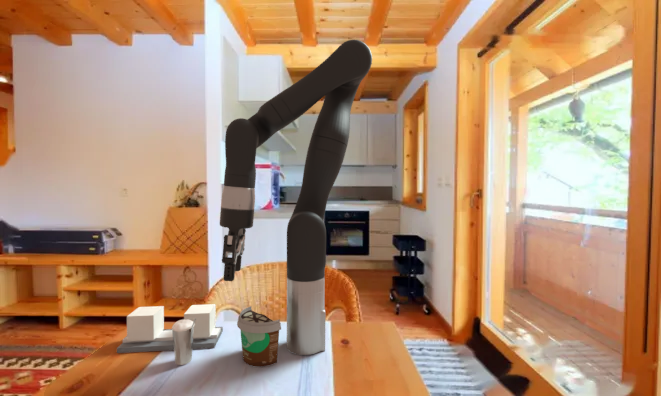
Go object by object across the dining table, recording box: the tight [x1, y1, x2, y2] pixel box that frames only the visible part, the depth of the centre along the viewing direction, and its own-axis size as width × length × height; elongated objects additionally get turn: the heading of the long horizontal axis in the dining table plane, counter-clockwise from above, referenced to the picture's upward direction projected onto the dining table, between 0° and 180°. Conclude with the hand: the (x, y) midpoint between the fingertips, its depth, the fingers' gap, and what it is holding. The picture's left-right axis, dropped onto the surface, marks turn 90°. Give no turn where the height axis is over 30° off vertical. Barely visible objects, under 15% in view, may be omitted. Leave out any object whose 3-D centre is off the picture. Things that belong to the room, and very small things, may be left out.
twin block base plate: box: [116, 303, 224, 354], centre depth 78 cm, size 22×9×8 cm, turn 97°
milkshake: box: [171, 318, 196, 366], centre depth 69 cm, size 5×5×10 cm
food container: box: [236, 305, 282, 368], centre depth 70 cm, size 12×6×10 cm, turn 47°
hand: (232, 275), depth 73 cm, fingers open, 8 cm apart
